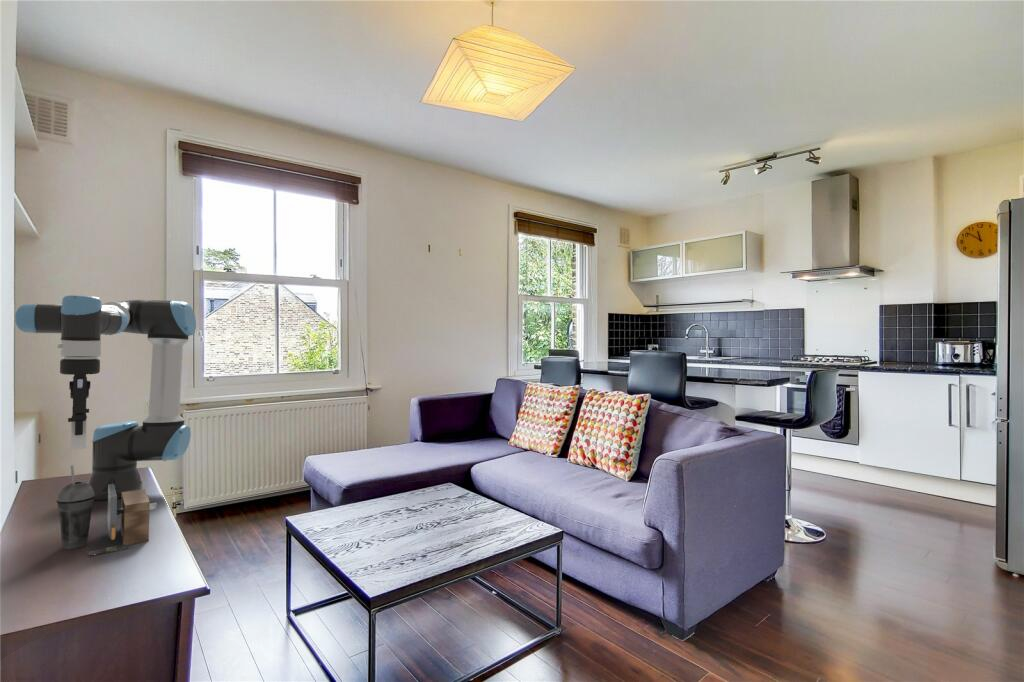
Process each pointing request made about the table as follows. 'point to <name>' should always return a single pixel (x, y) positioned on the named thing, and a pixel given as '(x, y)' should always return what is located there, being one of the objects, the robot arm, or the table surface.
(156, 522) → the table surface
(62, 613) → the table surface
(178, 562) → the table surface
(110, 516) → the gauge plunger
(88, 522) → the beverage cup
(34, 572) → the table surface
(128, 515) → the brown boxy piece
